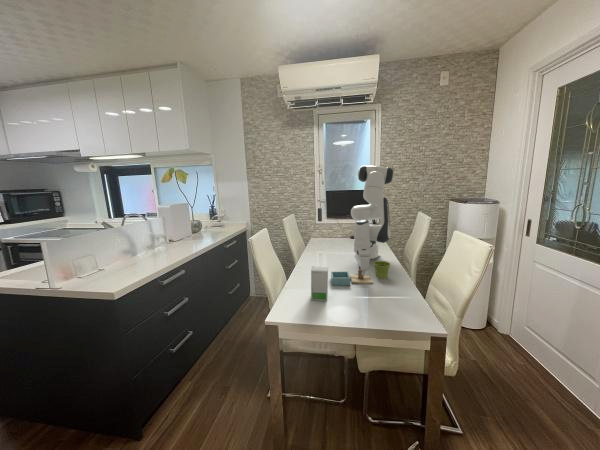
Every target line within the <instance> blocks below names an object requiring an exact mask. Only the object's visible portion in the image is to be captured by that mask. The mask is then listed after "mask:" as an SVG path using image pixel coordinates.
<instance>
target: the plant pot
mask: <svg viewBox="0 0 600 450" xmlns="http://www.w3.org/2000/svg"><path fill="white" fill-rule="evenodd" d="M373 265H374V270H375V277H376V278H378V279H387V278H388V275H389V274H388V273H389V268H390V266H391V263H390V262H388V261H385V260H378V261H377V260H376V261H374V262H373Z"/></svg>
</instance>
